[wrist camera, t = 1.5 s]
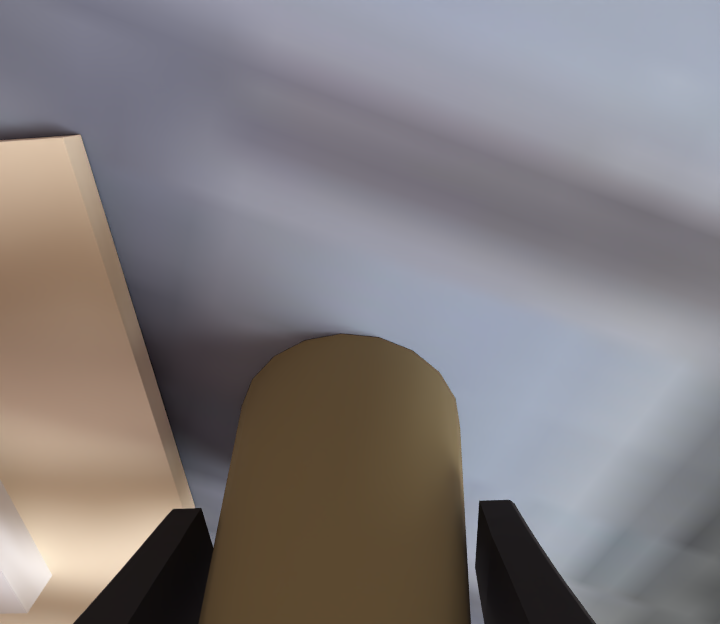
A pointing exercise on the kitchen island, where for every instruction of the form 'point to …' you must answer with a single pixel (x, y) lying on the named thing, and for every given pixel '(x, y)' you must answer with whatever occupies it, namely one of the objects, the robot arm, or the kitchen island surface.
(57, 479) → the socket board
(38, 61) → the kitchen island surface
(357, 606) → the cork
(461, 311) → the kitchen island surface
